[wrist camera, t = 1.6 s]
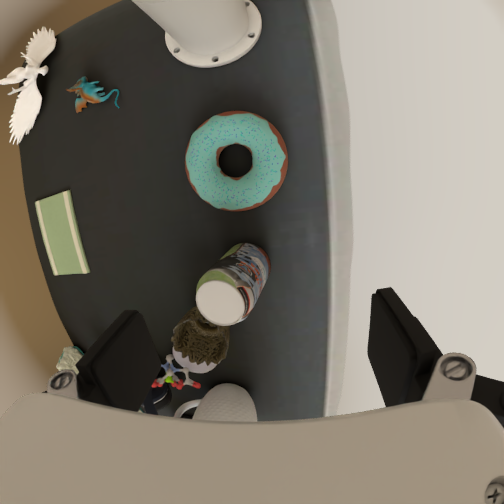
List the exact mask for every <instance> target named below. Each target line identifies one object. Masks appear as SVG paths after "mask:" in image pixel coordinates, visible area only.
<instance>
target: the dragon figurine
mask: <svg viewBox="0 0 504 504" xmlns="http://www.w3.org/2000/svg"><path fill="white" fill-rule="evenodd" d="M95 83H99V81H95V82H90V83H88V79H87V77H83V78H81V79H79V80H78V81H77V83H76V85H75V86H73V87H71V88H70V89H66V90H67V91H69V92H73V91H76V92H75V93H77V92H78V91H79V93H78V94H77V95H81V97H82V98H77V99H76V103H75V108H76V111H77V113H78V112H80V111H82V110H81V108H83V107H87V106H86V102H87V101H88V102H91V103H99V102H102V101H105V100H106V99H108V98H109V97H110V95H111V94H112V93H113V92H114V91H117V92H118V94H117V97H116V100H115V105H116V106H117V107H118V108H120V107H119V106H118V105H117V103H116V101H117V98H118V96H119V90H118V89H114V90H112V91H111V92H110V93H109V94H108V95H106V96H105V97H99V96H102V95H105V93H104V92H103V93H97V91H100V90H103V89H104V88H100V87H101V86H98V87H97V86H96V85H95ZM75 87H76V88H75Z"/></svg>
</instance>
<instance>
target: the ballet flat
mask: <svg viewBox="0 0 504 504" xmlns="http://www.w3.org/2000/svg"><path fill="white" fill-rule="evenodd" d="M83 355H84V353H83V352H82V351H81V350H80V349H79V348H78V347H76V346H73V347H71V346H69V347H67V348H66V347H65V349H64V350H63V353H62V356H60V358H59V362H58V364H57V365H56V366H57V368H58V369H59V371H61V370H65V369H71V370H73V371H74V372H75V373H76V374H78V373H79V371H78V369H77V368H76V366H75V364H76V363H77V362H78V361H79V360H80V359H81V358H82V356H83ZM138 412H140V413H143V411H142V409H141V408H140V409H139V411H138Z"/></svg>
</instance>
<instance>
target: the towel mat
mask: <svg viewBox="0 0 504 504" xmlns="http://www.w3.org/2000/svg"><path fill="white" fill-rule="evenodd" d="M35 205H36V210H37V215H38V219H39V224H40V228H41V232H42V236H43V240H44V243H45V247H46V251H47V254H48V257H49V261H50V264H51V267H52V270H53V273H54V275H62V274H78V273H90V272H91V271H90V268H89V265H88V262H87V258H86V255H85V251H84V248H83V244H82V240H81V236H80V233H79V228H78V224H77V220H76V215H75V211H74V206H73V201H72V196H71V190H68V191H65V192H62V193H59V194H56V195H54V196H51V197H48V198H45V199H42V200H40V201H37V202H35Z"/></svg>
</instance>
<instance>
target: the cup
mask: <svg viewBox="0 0 504 504" xmlns="http://www.w3.org/2000/svg"><path fill="white" fill-rule="evenodd" d="M173 330H174V334H173V336H172V337H171V342H173V347H174V350H175V351H177V352H181V353H182V354H181V355H182V358H186V357H187V355H188V358H189V361H190V362H191V363H195V362H196V364H197V365H199V364H201V363H204V361H205V362H206V365H207V366H209V365H210V363H211V362H212V363H214V364H219V363H220V362H221V360H222V359H225V358H226V353H227V350H228V348H229V331H230V329H229V326H221V325H217V324H214V323H212V322H210V321H209V320H207V319H206V318H205V317H204V316H203V315H202V314H201V312H200V311H199V309H198V307H197V306H196V307H194V308H192V309H191V310H189V311H188V312H187V313H186V314H185V316H184V317H183V318H182V319H181V320H180V322H179V323H178V324H177V325H176V326H175V328H174V329H173Z"/></svg>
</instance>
